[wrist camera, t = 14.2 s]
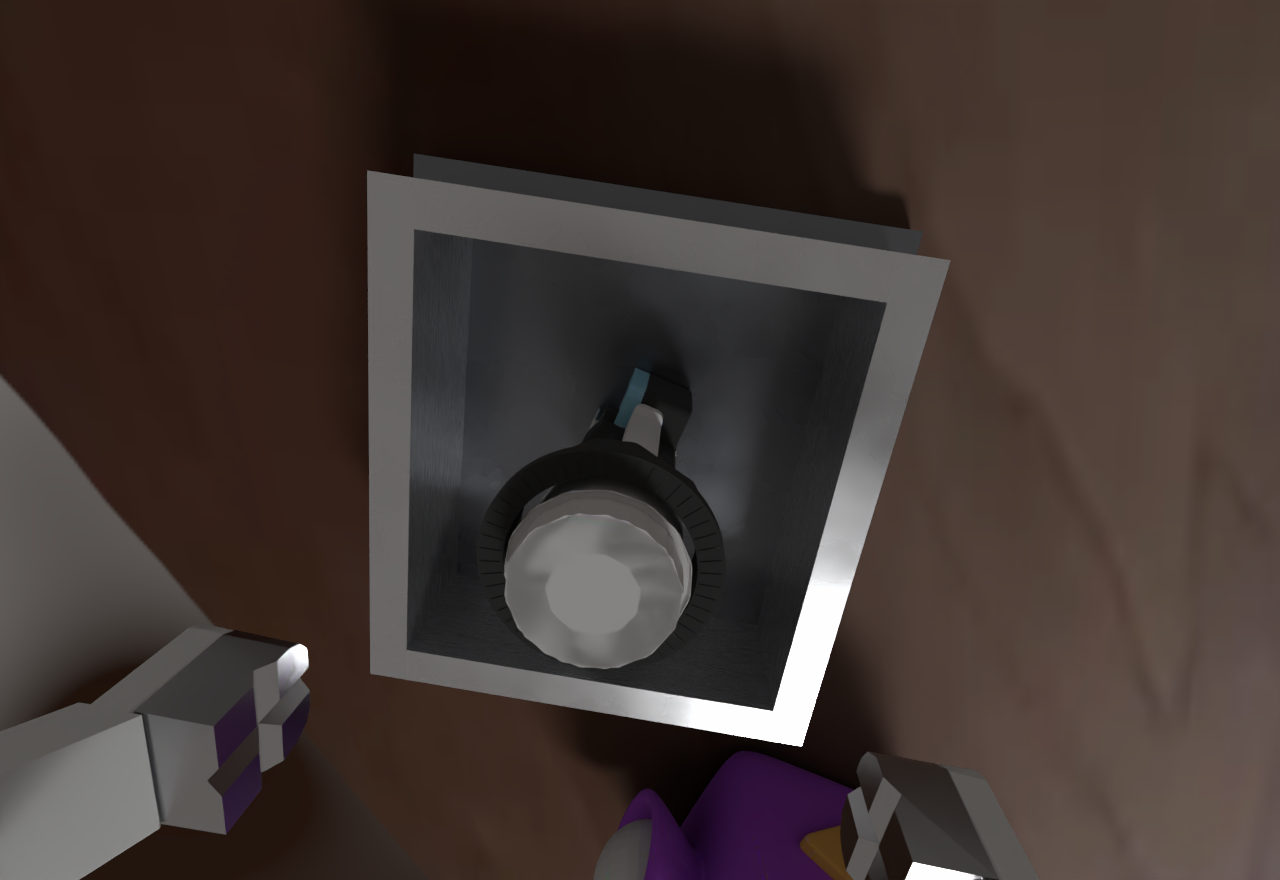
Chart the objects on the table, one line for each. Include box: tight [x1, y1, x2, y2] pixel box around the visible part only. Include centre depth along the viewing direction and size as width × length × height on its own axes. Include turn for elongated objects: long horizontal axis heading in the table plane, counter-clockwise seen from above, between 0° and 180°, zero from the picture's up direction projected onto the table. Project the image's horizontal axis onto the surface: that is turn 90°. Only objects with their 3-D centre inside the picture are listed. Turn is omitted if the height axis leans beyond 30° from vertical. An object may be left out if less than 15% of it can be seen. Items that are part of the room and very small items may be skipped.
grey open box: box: [367, 154, 951, 746], centre depth 20 cm, size 16×17×6 cm
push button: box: [477, 368, 726, 671], centre depth 17 cm, size 7×5×10 cm
